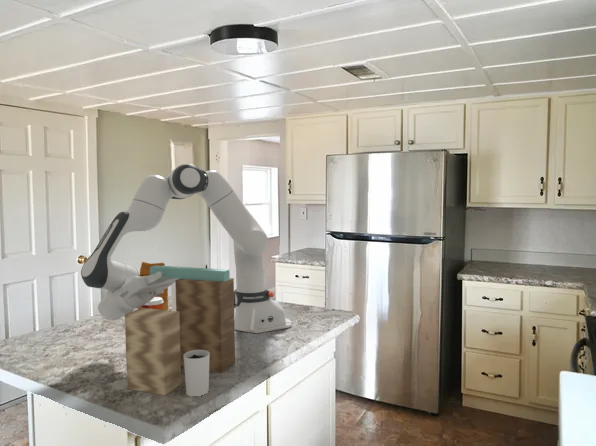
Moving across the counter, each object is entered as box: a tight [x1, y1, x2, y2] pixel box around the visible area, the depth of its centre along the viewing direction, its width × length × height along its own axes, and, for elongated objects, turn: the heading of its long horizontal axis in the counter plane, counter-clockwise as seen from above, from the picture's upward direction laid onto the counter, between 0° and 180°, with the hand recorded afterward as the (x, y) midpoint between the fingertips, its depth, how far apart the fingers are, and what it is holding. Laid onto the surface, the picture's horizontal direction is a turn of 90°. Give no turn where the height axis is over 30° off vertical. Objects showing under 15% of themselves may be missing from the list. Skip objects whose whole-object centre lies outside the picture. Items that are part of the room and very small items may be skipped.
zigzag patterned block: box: [124, 308, 182, 396], centre depth 121 cm, size 12×7×20 cm, turn 70°
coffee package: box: [137, 261, 169, 310], centre depth 196 cm, size 10×12×22 cm
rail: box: [150, 265, 231, 282], centre depth 136 cm, size 26×3×3 cm, turn 70°
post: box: [175, 277, 236, 373], centre depth 136 cm, size 15×8×26 cm, turn 70°
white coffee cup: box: [183, 350, 210, 397], centre depth 117 cm, size 7×7×10 cm
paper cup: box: [142, 297, 164, 310], centre depth 162 cm, size 8×8×14 cm
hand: (170, 271), depth 139 cm, fingers open, 8 cm apart
